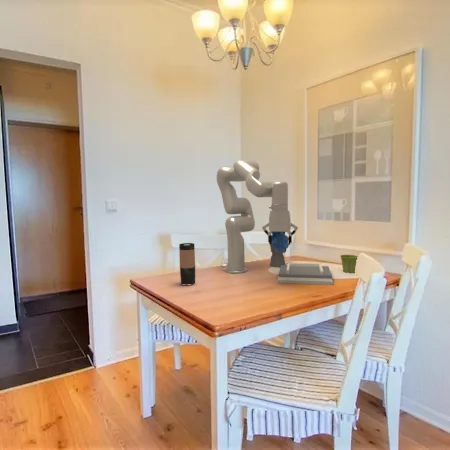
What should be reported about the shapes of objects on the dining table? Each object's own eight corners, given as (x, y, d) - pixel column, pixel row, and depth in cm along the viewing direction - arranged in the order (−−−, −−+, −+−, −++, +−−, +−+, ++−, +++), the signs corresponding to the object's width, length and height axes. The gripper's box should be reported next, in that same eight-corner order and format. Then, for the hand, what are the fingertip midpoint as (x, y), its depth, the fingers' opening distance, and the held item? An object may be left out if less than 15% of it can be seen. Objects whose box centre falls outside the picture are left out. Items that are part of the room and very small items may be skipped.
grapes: (264, 251, 167) (264, 226, 166) (273, 249, 171) (274, 226, 170) (281, 254, 158) (282, 229, 157) (291, 253, 162) (292, 228, 161)
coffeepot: (275, 268, 199) (274, 238, 198) (264, 266, 207) (263, 236, 205) (293, 264, 208) (293, 235, 206) (282, 262, 216) (282, 234, 214)
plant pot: (359, 270, 189) (359, 255, 188) (356, 274, 181) (356, 258, 180) (342, 269, 194) (342, 254, 193) (338, 272, 186) (338, 256, 185)
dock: (277, 282, 167) (277, 273, 167) (281, 270, 194) (280, 262, 194) (333, 284, 161) (333, 275, 161) (328, 271, 189) (328, 263, 188)
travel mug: (198, 282, 172) (197, 243, 170) (190, 286, 165) (189, 245, 163) (185, 281, 175) (184, 242, 173) (177, 284, 168) (176, 244, 166)
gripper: (260, 208, 159) (260, 245, 161) (298, 208, 155) (298, 245, 157) (262, 207, 167) (262, 242, 168) (298, 207, 162) (298, 243, 164)
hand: (279, 244), depth 163 cm, fingers closed on grapes, 8 cm apart
